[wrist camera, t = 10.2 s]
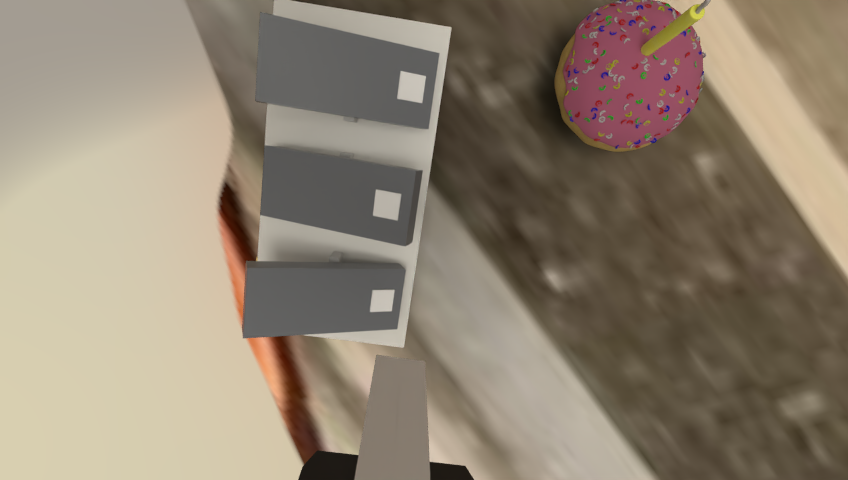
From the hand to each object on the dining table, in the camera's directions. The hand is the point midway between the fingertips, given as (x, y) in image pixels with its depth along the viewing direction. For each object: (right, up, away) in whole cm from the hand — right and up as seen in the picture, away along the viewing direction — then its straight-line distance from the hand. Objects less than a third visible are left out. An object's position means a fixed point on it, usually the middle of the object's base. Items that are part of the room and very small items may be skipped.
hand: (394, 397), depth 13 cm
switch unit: (-4, +9, +18) cm, 20 cm away
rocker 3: (-5, +1, +12) cm, 13 cm away
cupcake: (+13, +16, +17) cm, 26 cm away
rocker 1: (-3, +13, +9) cm, 16 cm away
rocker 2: (-4, +7, +10) cm, 13 cm away
